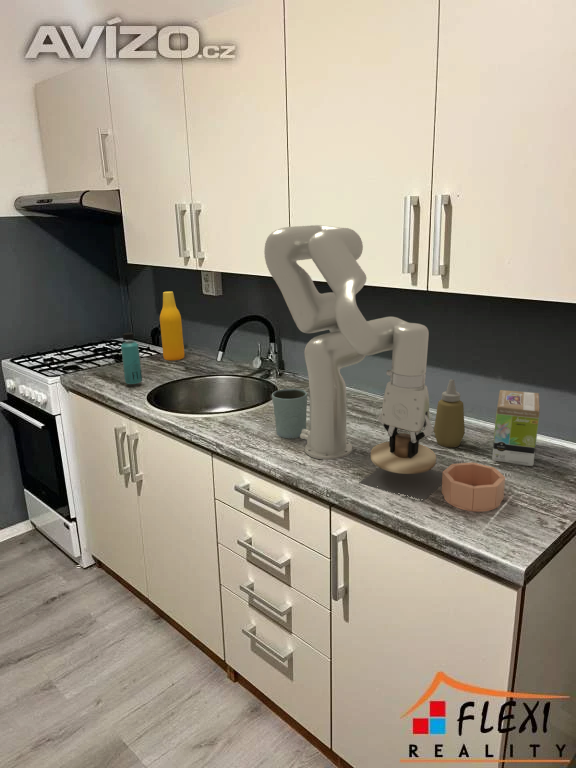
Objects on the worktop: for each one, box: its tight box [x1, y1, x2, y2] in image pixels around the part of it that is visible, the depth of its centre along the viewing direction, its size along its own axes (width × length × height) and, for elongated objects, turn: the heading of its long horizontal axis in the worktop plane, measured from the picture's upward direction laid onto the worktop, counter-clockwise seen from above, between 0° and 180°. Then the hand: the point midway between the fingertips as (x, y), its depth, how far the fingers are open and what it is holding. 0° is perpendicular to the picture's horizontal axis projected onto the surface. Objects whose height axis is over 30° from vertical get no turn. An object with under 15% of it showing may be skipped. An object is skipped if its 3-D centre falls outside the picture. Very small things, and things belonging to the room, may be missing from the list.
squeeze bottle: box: [433, 379, 466, 449], centre depth 155 cm, size 8×8×18 cm
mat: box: [359, 467, 443, 502], centre depth 138 cm, size 16×16×1 cm
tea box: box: [491, 389, 541, 467], centre depth 149 cm, size 15×10×15 cm, turn 158°
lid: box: [370, 432, 437, 474], centre depth 137 cm, size 15×15×6 cm
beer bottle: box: [159, 291, 185, 362], centre depth 254 cm, size 9×9×29 cm
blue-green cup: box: [271, 388, 308, 439], centre depth 168 cm, size 10×10×12 cm
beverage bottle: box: [120, 332, 143, 385], centre depth 217 cm, size 6×7×20 cm
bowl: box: [441, 461, 506, 513], centre depth 128 cm, size 12×12×6 cm
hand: (403, 452), depth 137 cm, fingers closed on lid, 4 cm apart
